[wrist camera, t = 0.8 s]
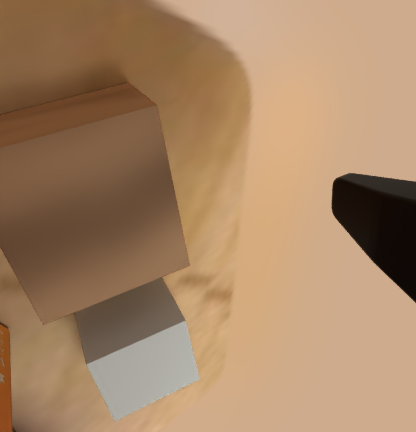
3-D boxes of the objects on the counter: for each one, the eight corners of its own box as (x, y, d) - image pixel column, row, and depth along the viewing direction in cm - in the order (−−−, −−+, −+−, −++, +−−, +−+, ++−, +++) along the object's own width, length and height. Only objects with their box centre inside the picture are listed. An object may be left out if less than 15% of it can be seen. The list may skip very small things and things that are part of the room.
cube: (170, 319, 26) (199, 379, 22) (96, 351, 25) (114, 421, 21) (154, 263, 24) (185, 320, 20) (70, 296, 22) (86, 364, 18)
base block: (162, 225, 22) (189, 265, 19) (36, 271, 20) (43, 325, 17) (128, 82, 18) (156, 104, 15) (-39, 124, 16) (-48, 160, 13)
